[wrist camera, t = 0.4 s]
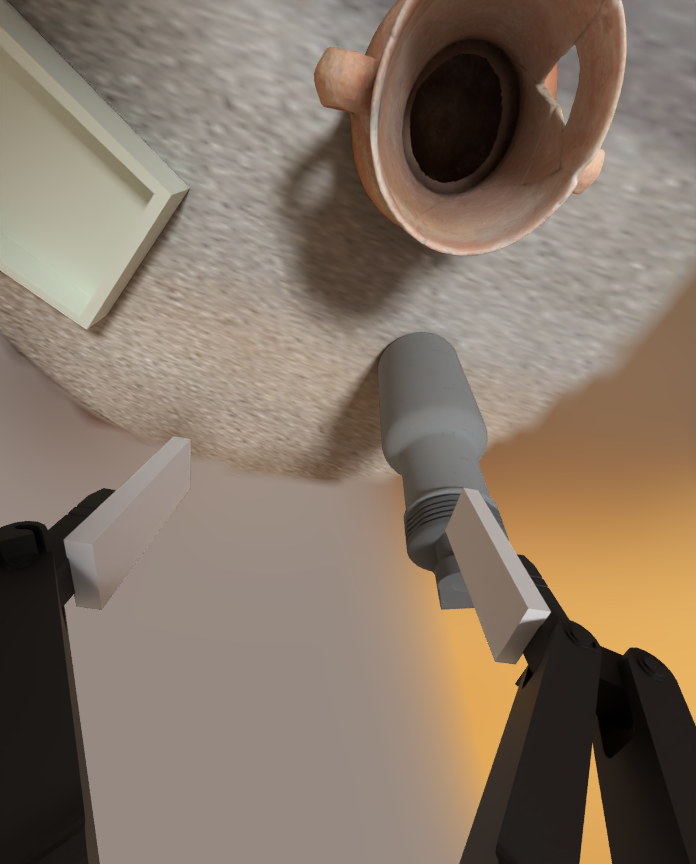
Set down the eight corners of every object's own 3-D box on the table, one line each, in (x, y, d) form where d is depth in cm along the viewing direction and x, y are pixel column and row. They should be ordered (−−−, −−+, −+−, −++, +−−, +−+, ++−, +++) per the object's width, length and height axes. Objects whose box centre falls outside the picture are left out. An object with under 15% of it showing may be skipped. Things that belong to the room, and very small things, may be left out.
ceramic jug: (596, 39, 24) (775, -27, 14) (485, 251, 34) (541, 309, 23) (355, -83, 21) (348, -287, 11) (308, 188, 31) (279, 221, 20)
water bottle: (457, 393, 45) (537, 622, 24) (384, 405, 47) (400, 628, 26) (456, 321, 39) (564, 551, 18) (371, 337, 40) (379, 565, 19)
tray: (-55, -63, 22) (-120, -92, 19) (189, 188, 31) (171, 195, 28) (-94, 167, 31) (-143, 172, 28) (107, 314, 39) (86, 329, 36)
